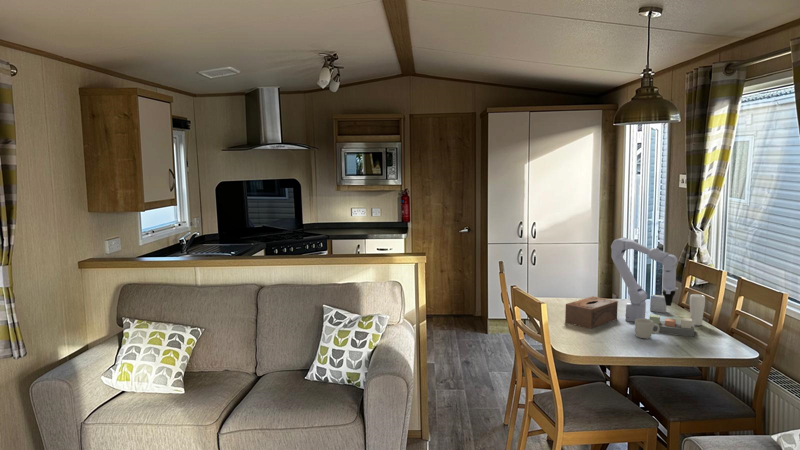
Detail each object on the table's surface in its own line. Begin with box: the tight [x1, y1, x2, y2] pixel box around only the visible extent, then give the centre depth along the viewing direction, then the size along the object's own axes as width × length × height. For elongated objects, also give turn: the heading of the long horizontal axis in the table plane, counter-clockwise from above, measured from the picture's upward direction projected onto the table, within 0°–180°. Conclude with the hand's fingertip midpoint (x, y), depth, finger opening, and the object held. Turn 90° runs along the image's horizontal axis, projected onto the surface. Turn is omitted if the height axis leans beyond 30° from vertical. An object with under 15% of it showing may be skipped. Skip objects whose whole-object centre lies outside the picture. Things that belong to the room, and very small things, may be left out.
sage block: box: [648, 313, 661, 325], centre depth 281 cm, size 4×4×4 cm
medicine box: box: [649, 294, 668, 314], centre depth 314 cm, size 8×4×9 cm, turn 58°
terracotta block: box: [664, 317, 677, 327], centre depth 278 cm, size 4×4×4 cm
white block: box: [680, 317, 692, 329], centre depth 274 cm, size 4×4×4 cm
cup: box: [634, 318, 660, 339], centre depth 267 cm, size 11×8×8 cm
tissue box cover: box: [564, 295, 619, 329], centre depth 295 cm, size 26×14×10 cm, turn 131°
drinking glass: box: [689, 293, 706, 326], centre depth 288 cm, size 7×7×15 cm
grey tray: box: [653, 320, 696, 338], centre depth 278 cm, size 21×11×3 cm, turn 61°
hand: (668, 305), depth 285 cm, fingers closed
